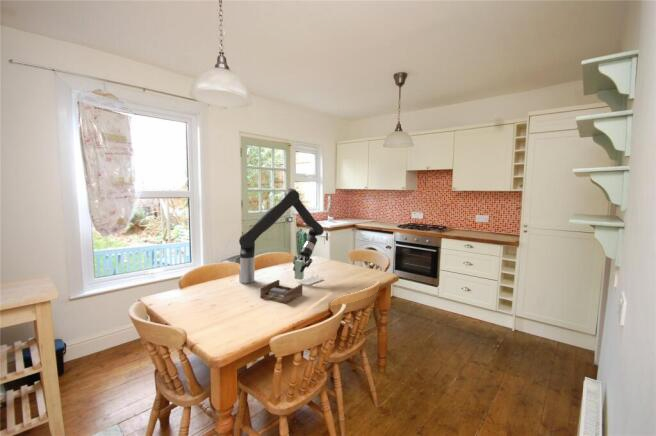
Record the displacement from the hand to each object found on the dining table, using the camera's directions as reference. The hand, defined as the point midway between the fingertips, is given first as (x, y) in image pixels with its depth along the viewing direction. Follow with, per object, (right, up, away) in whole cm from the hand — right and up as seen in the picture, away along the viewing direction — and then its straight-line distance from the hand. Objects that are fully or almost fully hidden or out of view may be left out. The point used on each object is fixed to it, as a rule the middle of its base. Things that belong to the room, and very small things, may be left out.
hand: (297, 271), depth 185 cm
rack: (-7, -12, -20) cm, 25 cm away
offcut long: (-8, -11, -23) cm, 27 cm away
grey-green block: (+1, -5, +2) cm, 6 cm away
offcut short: (-8, -8, -23) cm, 26 cm away
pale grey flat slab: (+2, -10, +6) cm, 12 cm away
